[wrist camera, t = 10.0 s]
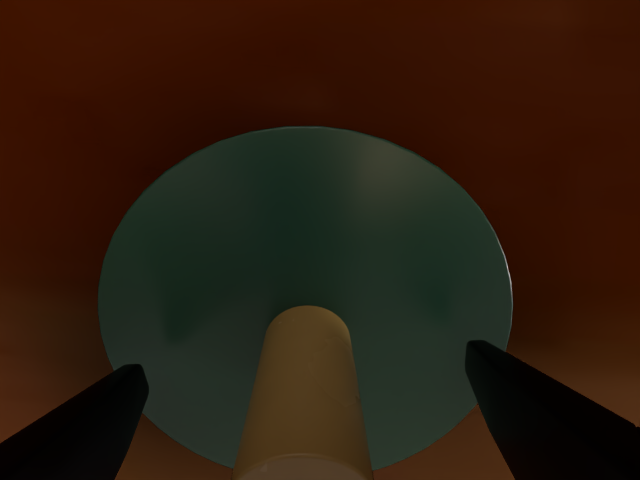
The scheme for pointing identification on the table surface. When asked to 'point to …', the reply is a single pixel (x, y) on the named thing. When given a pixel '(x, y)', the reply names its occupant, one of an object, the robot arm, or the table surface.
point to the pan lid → (304, 302)
